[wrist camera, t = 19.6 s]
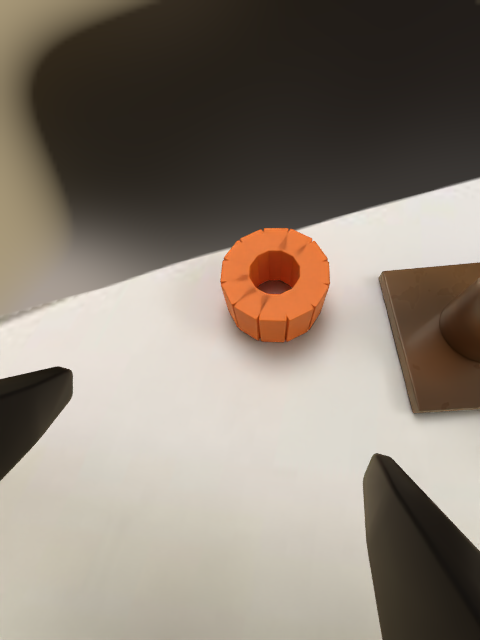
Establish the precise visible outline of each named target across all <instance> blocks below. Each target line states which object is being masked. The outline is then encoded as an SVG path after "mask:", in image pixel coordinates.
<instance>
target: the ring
mask: <svg viewBox="0 0 480 640" xmlns="http://www.w3.org/2000/svg"><path fill="white" fill-rule="evenodd" d="M327 260H328V259H327V257H326V256H325V254H324V253H323V252H322V250H321V249H320V247H319V246H318V245H317V243H316V242H315V241H313V242H312V238H310V237H308V236H305V235H303V234H301V233H299V232H297V231H295V230H293V229H290V231H289V232H288V228H264V232H263V231H262V230H258V231H256V232H254V233H251V234H249V235H247V236H245V237H243V238H241V239H240V241H237V242H236V243H235V244H234V245H233V247H232V248H231V249H230V251H229V252H228V253H227V254H226V256H225V257H224V260H223V262H222V272H221V281H220V282H221V287H222V290H223V294H224V297H225V300H226V304H227V307H228V310H229V312H230V314H231V316H232V318H233V320H234V322H235V324H236V325H237V327H239V329H240V330H241V331H243V332H245V333H246V334H248V335H249V336H251V337H253V338H254V339H256V340H258V341H259V340H260V338H261V341H262V342H284V341H285V340H286V341H287V342H288V341H290V340H292V339H294V338H296V337H298V336H300V335H302V334H304V333H306V332H307V330H310V328H311V327H312V325H313V323H314V322H315V320H316V319H317V317H318V315H319V314H320V312H321V309H322V306H323V303H324V300H325V297H326V294H327V291H328V288H329V284H330V276H329V262H328V261H327ZM268 280H280V281H282V282H284V283H286V284H288V285H290V286H291V288H292V289H290V290H288V291H286V292H283V293H281V294H267V293H265V292H263V291H261V290H259V289H257V287H258V286H259V285H260V284H262V283H264V282H266V281H268Z"/></svg>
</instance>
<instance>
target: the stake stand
mask: <svg viewBox="0 0 480 640" xmlns="http://www.w3.org/2000/svg"><path fill="white" fill-rule="evenodd" d="M379 281H380V285H381V289H382V292H383V296H384V300H385V304H386V308H387V312H388V316H389V320H390V324H391V328H392V332H393V336H394V340H395V344H396V347H397V351H398V355H399V359H400V363H401V367H402V371H403V375H404V379H405V383H406V387H407V391H408V395H409V399H410V402H411V406H412V410H413V413H426V412H442V411H458V410H474V409H480V263H470V264H459V265H448V266H437V267H425V268H414V269H403V270H392V271H383V272H382V273H381V275H380V277H379Z"/></svg>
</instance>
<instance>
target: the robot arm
mask: <svg viewBox="0 0 480 640" xmlns="http://www.w3.org/2000/svg"><path fill="white" fill-rule="evenodd" d="M72 394H73V373H72V371H71V370H70V369H66V368H63V367H53V368H48V369H44V370H39V371H35V372H30V373H26V374H22V375H17V376H13V377H8V378H4V379H0V481H1V480H2V479H3V478H4V477H5V475H6V474H7V473H8V472H9V471H10V470H11V469H12V468H13V467H14V466H15V465H16V464H17V463H18V462H19V461H20V460H21V459H22V458H23V457H24V456H25V454H26V453H27V452H28V451H29V450H30V449H31V448H32V447H33V446H34V445H35V444H36V443H37V441H38V440H39V439H40V438H41V437H42V435H43V434H44V433H45V432H46V430H47V429H48V428H49V427H50V425H51V424H52V423H53V421H54V420H55V419H56V418H57V416H58V415H59V414H60V413H61V411H62V410H63V409H64V407H65V406H66V405H67V404H68V402H69V401H70V399H71V397H72ZM363 494H364V511H365V528H366V541H367V549H368V555H369V561H370V567H371V573H372V579H373V585H374V591H375V598H376V604H377V610H378V616H379V622H380V628H381V634H382V640H480V551H479V550H478V549H477V548H476V547H475V546H474V545H473V544H472V543H471V541H470V540H469V539H468V538H467V537H466V536H465V535H464V534H463V533H462V532H461V531H460V530H459V529H458V528H457V527H456V526H455V525H454V523H453V522H452V521H451V520H450V519H449V518H448V517H447V516H446V515H445V514H444V513H443V512H442V511H441V510H440V509H439V508H438V507H437V505H436V504H435V503H434V502H433V501H432V500H431V499H430V498H429V497H428V496H427V495H426V494H425V493H424V492H423V491H422V490H421V489H420V488H419V486H418V485H417V484H416V483H415V482H414V481H413V480H412V479H411V478H410V477H409V476H408V475H407V474H406V473H405V472H404V471H403V470H402V468H401V467H400V466H399V465H398V464H397V463H396V462H395V461H394V460H393V459H392V458H391V457H389V456H385V455H382V454H378V453H376V454H374V455H373V456H372V458H371V460H370V463H369V465H368V468H367V470H366V472H365V475H364V478H363Z"/></svg>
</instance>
